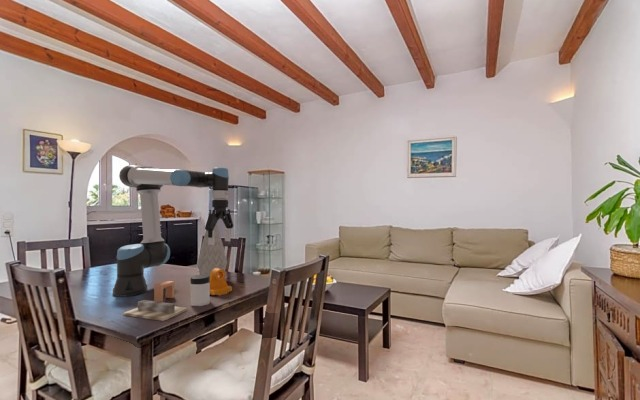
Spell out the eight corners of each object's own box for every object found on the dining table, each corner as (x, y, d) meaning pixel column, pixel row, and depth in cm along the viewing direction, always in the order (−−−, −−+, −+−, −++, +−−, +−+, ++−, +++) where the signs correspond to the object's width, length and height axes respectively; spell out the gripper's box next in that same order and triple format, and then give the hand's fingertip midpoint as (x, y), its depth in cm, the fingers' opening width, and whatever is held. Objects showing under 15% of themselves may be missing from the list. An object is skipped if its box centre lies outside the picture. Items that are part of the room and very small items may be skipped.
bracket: (213, 296, 158) (213, 271, 158) (205, 294, 163) (205, 269, 163) (232, 292, 166) (232, 268, 166) (225, 289, 171) (225, 266, 171)
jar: (204, 299, 154) (204, 273, 154) (214, 302, 148) (214, 276, 148) (186, 304, 147) (186, 276, 147) (195, 307, 141) (195, 279, 142)
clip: (154, 301, 151) (154, 284, 151) (167, 296, 158) (167, 280, 158) (161, 302, 149) (161, 285, 149) (174, 297, 157) (174, 281, 157)
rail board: (123, 315, 132) (123, 305, 132) (149, 305, 144) (149, 296, 144) (163, 320, 126) (163, 310, 126) (187, 310, 138) (187, 300, 138)
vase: (222, 285, 179) (222, 224, 180) (192, 285, 180) (192, 224, 180) (231, 278, 196) (231, 222, 196) (203, 278, 196) (203, 222, 197)
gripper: (211, 199, 148) (210, 246, 148) (240, 199, 172) (240, 240, 172) (197, 199, 151) (196, 245, 151) (227, 199, 174) (227, 239, 174)
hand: (219, 242), depth 161 cm, fingers open, 13 cm apart
